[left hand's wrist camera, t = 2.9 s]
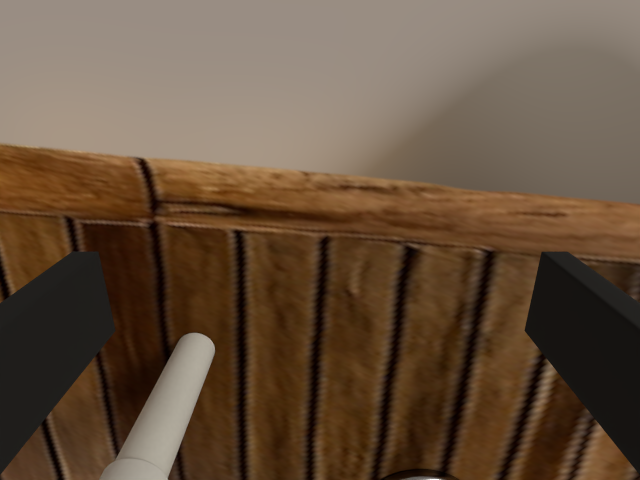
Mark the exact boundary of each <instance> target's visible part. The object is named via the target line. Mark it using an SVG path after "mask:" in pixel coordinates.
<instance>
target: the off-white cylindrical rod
mask: <svg viewBox="0 0 640 480" xmlns="http://www.w3.org/2000/svg"><path fill="white" fill-rule="evenodd" d="M214 354H215V347H214V344H213V342H212V341H211V340H210V339H209V338H208V337H207V336H205V335H203V334H199V333H189V334H186V335H184V336H183V337H182V338H181V339H180V340H179V341H178V343H177V345H176V347H175V349H174V351H173V353H172V355H171V357H170V358H169V360H168V362H167V364H166V366H165V368H164V370H163V372H162V373H161V375H160V377H159V379H158V381H157V383H156V385H155V387H154V389H153V390H152V392H151V394H150V396H149V398H148V400H147V402H146V404H145V406H144V407H143V409H142V411H141V413H140V415H139V417H138V419H137V421H136V422H135V424H134V426H133V428H132V430H131V432H130V434H129V436H128V438H127V439H126V441H125V443H124V445H123V447H122V449H121V451H120V453H119V454H118V456H117V458H116V460H115V461H117V460H120V459H125V458H135V459H141V460H145V461H148V462H150V463H152V464H154V465H156V466H157V467H159V468H160V469H161V470H162V471H163V472H164V473H165V475H166V476H167V478H168V475H169V473H170V470H171V468H172V465H173V462H174V460H175V457H176V454H177V452H178V449H179V446H180V444H181V441H182V438H183V436H184V433H185V431H186V428H187V425H188V423H189V420H190V417H191V415H192V412H193V409H194V407H195V404H196V401H197V399H198V396H199V394H200V391H201V388H202V386H203V383H204V380H205V378H206V375H207V372H208V370H209V367H210V364H211V362H212V359H213V356H214Z"/></svg>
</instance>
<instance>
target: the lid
mask: <svg viewBox="0 0 640 480" xmlns="http://www.w3.org/2000/svg"><path fill="white" fill-rule="evenodd" d="M99 480H168V478H167V476H166V475H165V473H164V472H163V471H162V470H161V469H160V468H159V467H157V466H156V465H154V464H152V463H150V462H148V461H145V460H141V459H135V458H125V459H120V460H117V461H114V462H112V463H111V464H109V465H108V466H107V467H106V468H105V470H104V471H103V473H102V475H101V477H100V479H99Z"/></svg>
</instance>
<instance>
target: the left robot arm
mask: <svg viewBox="0 0 640 480" xmlns="http://www.w3.org/2000/svg"><path fill="white" fill-rule="evenodd" d="M114 332H115V327H114V322H113V317H112V313H111V308H110V304H109V299H108V294H107V290H106V285H105V281H104V276H103V271H102V267H101V262H100V258H99V253H98V252H71V253H70V254H69V255H67V256H66V257H64V258H63V259H62V260H60V261H59V262H57V263H56V264H55V265H53V266H52V267H50V268H49V269H48V270H46V271H45V272H43V273H42V274H41V275H39V276H38V277H36V278H35V279H34V280H32V281H31V282H29V283H28V284H27V285H25V286H24V287H22V288H21V289H20V290H18V291H17V292H15V293H14V294H13V295H11V296H10V297H8V298H7V299H6V300H4V301H3V302H1V303H0V474H1V473H2V472H3V471H4V469H5V468H6V467H7V466H8V464H9V463H10V462H11V461H12V459H13V458H14V457H15V456H16V454H17V453H18V452H19V451H20V449H21V448H22V447H23V446H24V444H25V443H26V442H27V441H28V439H29V438H30V437H31V436H32V434H33V433H34V432H35V431H36V429H37V428H38V427H39V426H40V424H41V423H42V422H43V421H44V419H45V418H46V417H47V416H48V414H49V413H50V412H51V411H52V409H53V408H54V407H55V406H56V404H57V403H58V402H59V401H60V399H61V398H62V397H63V396H64V394H65V393H66V392H67V391H68V389H69V388H70V387H71V386H72V384H73V383H74V382H75V381H76V379H77V378H78V377H79V376H80V374H81V373H82V372H83V371H84V369H85V368H86V367H87V366H88V364H89V363H90V362H91V361H92V359H93V358H94V357H95V356H96V354H97V353H98V352H99V351H100V349H101V348H102V347H103V346H104V344H105V343H106V342H107V341H108V339H109V338H110V337H111V336H112V334H113V333H114ZM525 332H526V333H527V334H528V336H529V337H530V338H531V339H532V341H533V342H534V343H535V344H536V346H537V347H538V348H539V349H540V351H541V352H542V353H543V354H544V356H545V357H546V358H547V359H548V361H549V362H550V363H551V364H552V366H553V367H554V368H555V369H556V371H557V372H558V373H559V374H560V376H561V377H562V378H563V379H564V381H565V382H566V383H567V384H568V386H569V387H570V388H571V389H572V391H573V392H574V393H575V394H576V396H577V397H578V398H579V399H580V401H581V402H582V403H583V404H584V406H585V407H586V408H587V409H588V411H589V412H590V413H591V414H592V416H593V417H594V418H595V419H596V421H597V422H598V423H599V424H600V426H601V427H602V428H603V429H604V431H605V432H606V433H607V434H608V436H609V437H610V438H611V439H612V441H613V442H614V443H615V444H616V446H617V447H618V448H619V449H620V451H621V452H622V453H623V454H624V456H625V457H626V458H627V459H628V461H629V462H630V463H631V464H632V466H633V467H634V468H635V469H636V471H637V472H638V473H639V474H640V303H639V302H637V301H636V300H634V299H633V298H632V297H630V296H629V295H627V294H626V293H625V292H623V291H622V290H620V289H619V288H618V287H616V286H615V285H613V284H612V283H611V282H609V281H608V280H606V279H605V278H604V277H602V276H601V275H599V274H598V273H597V272H595V271H594V270H592V269H591V268H590V267H588V266H587V265H585V264H584V263H583V262H581V261H580V260H578V259H577V258H576V257H574V256H573V255H571V254H570V253H569V252H542V253H541V258H540V262H539V267H538V271H537V276H536V281H535V285H534V290H533V294H532V299H531V304H530V308H529V313H528V317H527V322H526V327H525ZM384 480H459V479H457V478H455V477H454V476H452V475H449V474H447V473H444V472H440V471H435V470H423V469H422V470H410V471H404V472H400V473H397V474H394V475H392V476H389V477H387V478H385V479H384Z"/></svg>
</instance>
